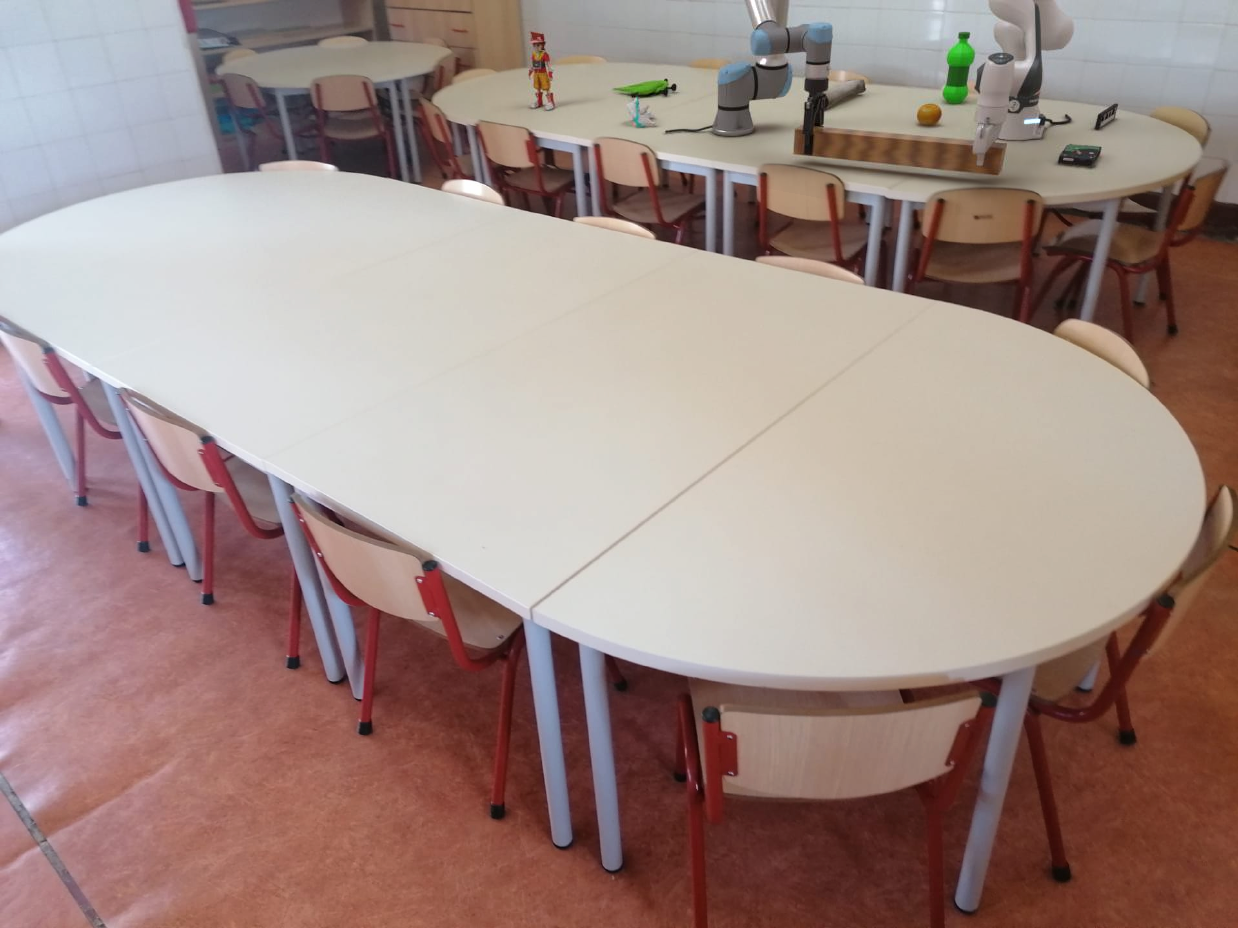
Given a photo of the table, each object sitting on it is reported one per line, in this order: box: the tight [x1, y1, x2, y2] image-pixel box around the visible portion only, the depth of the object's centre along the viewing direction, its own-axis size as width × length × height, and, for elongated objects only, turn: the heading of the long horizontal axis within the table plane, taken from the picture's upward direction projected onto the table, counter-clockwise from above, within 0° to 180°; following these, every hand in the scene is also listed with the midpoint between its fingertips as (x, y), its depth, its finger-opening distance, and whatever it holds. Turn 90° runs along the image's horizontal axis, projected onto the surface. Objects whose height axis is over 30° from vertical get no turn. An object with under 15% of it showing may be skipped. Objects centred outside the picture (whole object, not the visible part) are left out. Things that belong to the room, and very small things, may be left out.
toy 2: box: [612, 78, 677, 99], centre depth 396 cm, size 28×5×30 cm
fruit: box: [916, 103, 943, 126], centre depth 329 cm, size 8×8×8 cm
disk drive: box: [1057, 143, 1102, 167], centre depth 287 cm, size 10×3×15 cm
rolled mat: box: [823, 78, 867, 110], centre depth 364 cm, size 30×9×10 cm
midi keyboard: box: [1094, 103, 1119, 130], centre depth 318 cm, size 18×1×5 cm, turn 138°
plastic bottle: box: [942, 31, 976, 104], centre depth 348 cm, size 10×10×25 cm
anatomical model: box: [625, 97, 657, 128], centre depth 351 cm, size 15×10×10 cm
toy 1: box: [527, 31, 556, 111], centre depth 374 cm, size 12×9×30 cm
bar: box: [793, 124, 1008, 176], centre depth 283 cm, size 65×6×8 cm, turn 59°
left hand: (811, 151), depth 297 cm, fingers closed on bar, 6 cm apart
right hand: (982, 161), depth 272 cm, fingers closed on bar, 5 cm apart
